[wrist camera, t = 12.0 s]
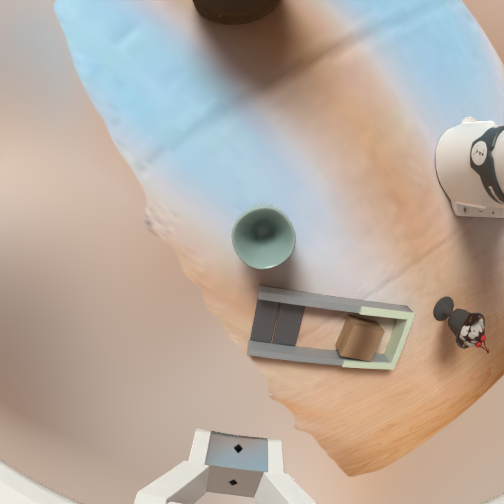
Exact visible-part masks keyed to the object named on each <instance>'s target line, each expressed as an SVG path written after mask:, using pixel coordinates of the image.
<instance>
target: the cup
mask: <svg viewBox="0 0 504 504" xmlns="http://www.w3.org/2000/svg"><path fill="white" fill-rule="evenodd" d="M232 243H233V247H234V249H235V251H236V253H237V255H238V256H239V258H240V259H241V260H242V261H243V262H244V263H245V264H247V265H248V266H250V267H252V268H255V269H270V268H273V267H276V266H278V265H280V264H281V263H283V262H284V261H285V260H286V259H288V258H289V256H290V255H291V254H292V252H293V250H294V248H295V243H296V235H295V231H294V228H293V225H292V223H291V221H290V220H289V218H288V217H287V215H286V214H285V213H284V212H283V211H282V210H281V209H279V208H278V207H277V206H274V205H272V204H267V203H262V204H257V205H254V206H252V207H249V208H248V209H246V210H245V211H244V212H243V213H242V214H241V215H240V216H239V217H238V219H237V220H236V222H235V224H234V226H233V229H232Z"/></svg>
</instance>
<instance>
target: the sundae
mask: <svg viewBox="0 0 504 504" xmlns="http://www.w3.org/2000/svg"><path fill="white" fill-rule="evenodd" d="M453 307H454V303H453V300H452V299H451V298H450V297H444V298H442V299H440V300H439V301H438V302H437V304H436V306H435V308H434V317H435V318H436V319H437V320H439V321H440V320H445V319H446V318H448V317H449V319H448V325H449V327H450V329H451V330H452V332H453V333H454V334H455V336H456V343H457V344H458V346H459V347H461V348H464V349H465V348H468V347H473V346H475V345H476V347H482V346H481V345H482V342H484V341H485V339H486V337H485V335H484V334H485V328H484V327H485V319H484V316H483V315H482V314H480V313H470V312H468V311H465V310H462V309H456V310H454V311H453ZM452 311H453V312H452ZM484 345H485V342H484ZM482 348H483V347H482ZM485 348H486V346H485ZM485 348H483V349H485ZM486 349H487V348H486ZM486 349H485V350H486ZM486 351H487V353H489V350H488V349H487V350H486Z"/></svg>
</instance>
